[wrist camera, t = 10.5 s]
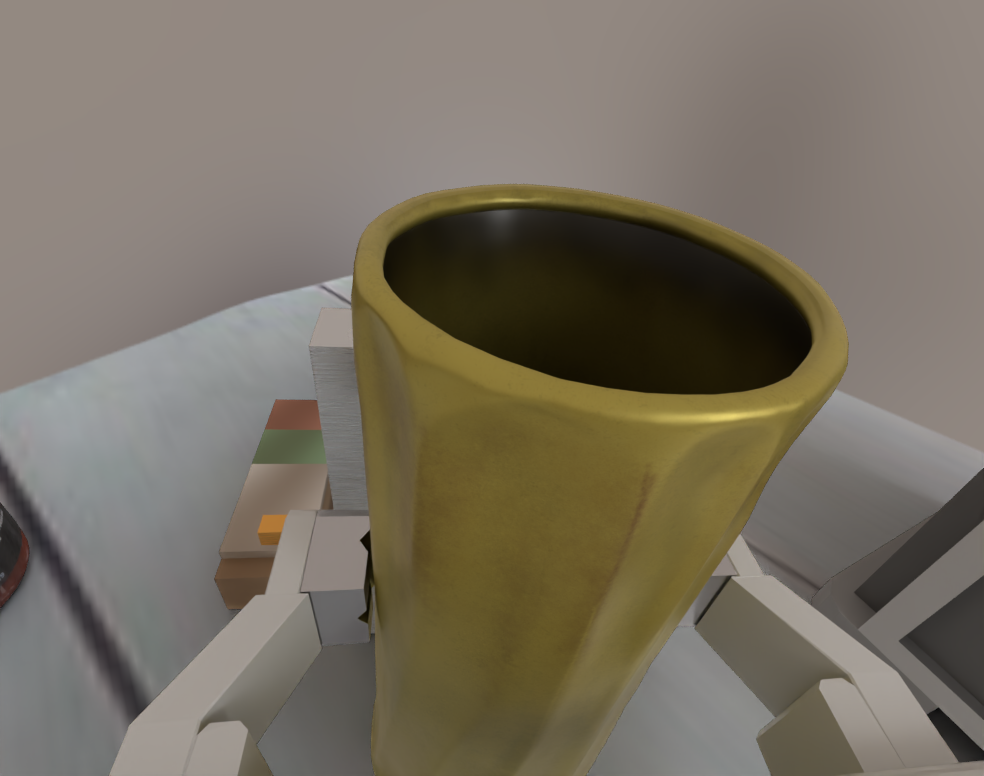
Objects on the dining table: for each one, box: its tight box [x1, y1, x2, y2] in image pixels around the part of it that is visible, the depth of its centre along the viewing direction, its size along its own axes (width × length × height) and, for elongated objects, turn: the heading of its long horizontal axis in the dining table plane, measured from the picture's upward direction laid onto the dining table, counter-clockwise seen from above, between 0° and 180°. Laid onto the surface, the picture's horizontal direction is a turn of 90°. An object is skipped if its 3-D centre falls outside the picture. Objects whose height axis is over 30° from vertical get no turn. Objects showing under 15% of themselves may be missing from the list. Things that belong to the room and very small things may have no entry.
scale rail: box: [214, 400, 334, 609], centre depth 21 cm, size 3×9×2 cm, turn 6°
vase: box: [351, 184, 849, 776], centre depth 10 cm, size 6×6×14 cm
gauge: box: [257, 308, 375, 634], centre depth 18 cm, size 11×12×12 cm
